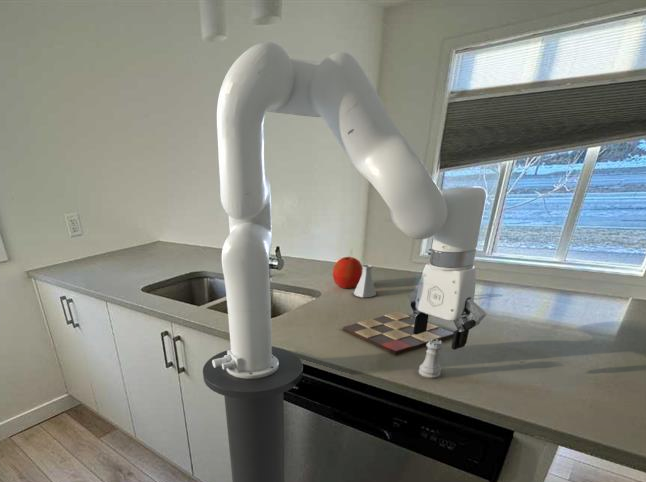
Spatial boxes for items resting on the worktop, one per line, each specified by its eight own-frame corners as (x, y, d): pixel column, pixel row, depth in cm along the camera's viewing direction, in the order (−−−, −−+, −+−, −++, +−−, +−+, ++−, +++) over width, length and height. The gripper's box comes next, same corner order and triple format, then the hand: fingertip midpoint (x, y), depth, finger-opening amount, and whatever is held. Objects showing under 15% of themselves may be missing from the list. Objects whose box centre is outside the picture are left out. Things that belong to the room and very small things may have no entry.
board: (395, 355, 99) (396, 350, 98) (342, 330, 115) (343, 326, 115) (454, 336, 105) (455, 332, 105) (396, 315, 122) (397, 311, 121)
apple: (327, 289, 150) (329, 257, 144) (339, 282, 156) (341, 251, 150) (353, 292, 144) (356, 259, 138) (365, 285, 150) (368, 253, 144)
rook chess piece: (442, 379, 88) (449, 345, 84) (420, 378, 88) (426, 345, 84) (437, 369, 91) (443, 337, 87) (415, 369, 92) (421, 337, 88)
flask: (367, 290, 144) (370, 262, 140) (380, 295, 138) (383, 266, 133) (349, 293, 143) (351, 265, 138) (361, 299, 137) (364, 269, 132)
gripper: (402, 255, 83) (393, 331, 92) (479, 270, 69) (461, 359, 77) (429, 248, 86) (418, 324, 94) (509, 261, 71) (488, 349, 80)
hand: (437, 339), depth 86 cm, fingers open, 9 cm apart
